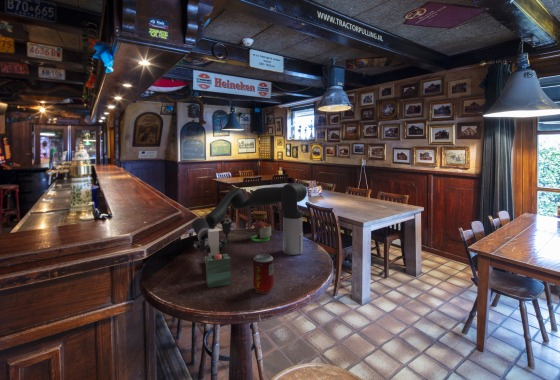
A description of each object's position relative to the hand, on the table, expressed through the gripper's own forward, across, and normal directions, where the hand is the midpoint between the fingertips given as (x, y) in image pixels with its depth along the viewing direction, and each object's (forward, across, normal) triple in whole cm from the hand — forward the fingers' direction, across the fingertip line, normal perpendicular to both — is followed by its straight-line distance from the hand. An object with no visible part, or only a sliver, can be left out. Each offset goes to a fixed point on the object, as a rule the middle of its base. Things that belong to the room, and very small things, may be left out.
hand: (214, 249), depth 114 cm
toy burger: (-40, -32, -11) cm, 53 cm away
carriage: (-3, 0, -11) cm, 11 cm away
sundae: (-45, -15, -11) cm, 49 cm away
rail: (-5, 0, -11) cm, 12 cm away
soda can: (+16, -14, -11) cm, 24 cm away
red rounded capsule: (+5, 0, -5) cm, 8 cm away
